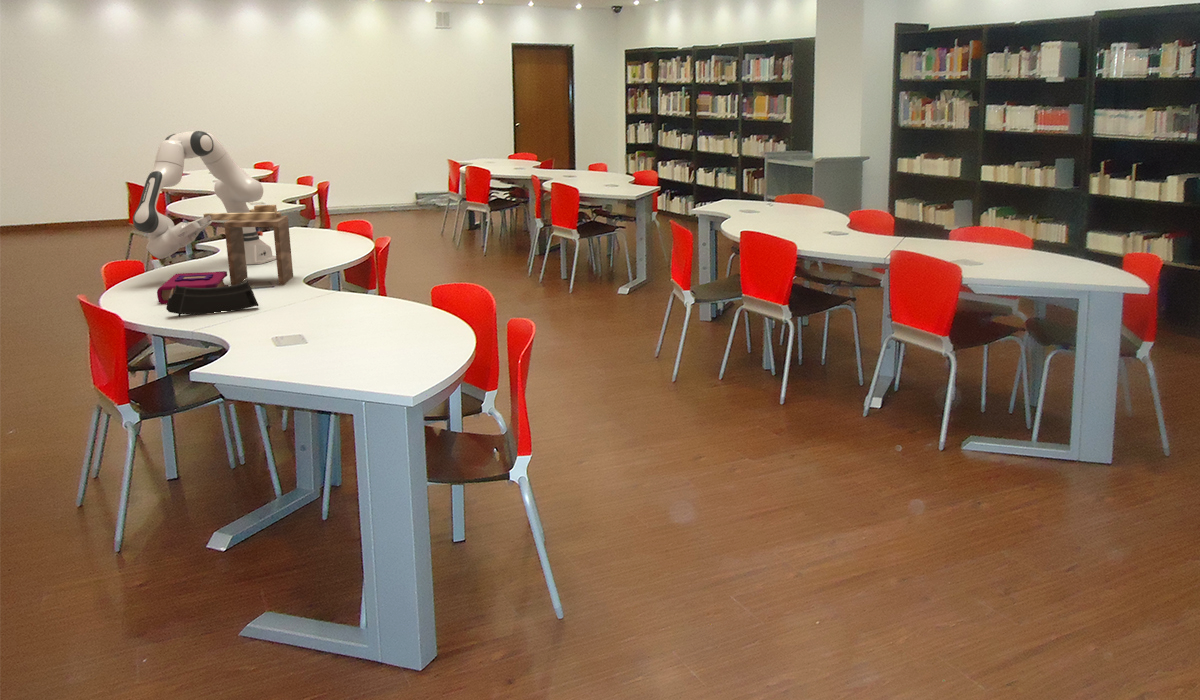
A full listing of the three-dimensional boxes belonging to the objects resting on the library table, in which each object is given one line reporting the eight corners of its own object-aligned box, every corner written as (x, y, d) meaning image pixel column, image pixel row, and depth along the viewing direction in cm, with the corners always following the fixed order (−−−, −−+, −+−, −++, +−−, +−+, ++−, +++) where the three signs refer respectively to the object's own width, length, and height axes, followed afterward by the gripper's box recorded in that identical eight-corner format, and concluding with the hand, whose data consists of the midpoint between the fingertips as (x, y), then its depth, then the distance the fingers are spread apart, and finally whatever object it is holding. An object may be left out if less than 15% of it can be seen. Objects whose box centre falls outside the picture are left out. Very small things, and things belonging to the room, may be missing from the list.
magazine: (262, 282, 353) (174, 266, 338) (263, 284, 350) (175, 267, 336) (252, 327, 355) (165, 313, 340) (253, 329, 352) (165, 314, 338)
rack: (230, 286, 393) (222, 210, 385) (242, 277, 411) (235, 205, 403) (283, 285, 395) (276, 209, 387) (293, 276, 413) (286, 204, 405)
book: (158, 305, 361) (156, 285, 359) (174, 290, 387) (172, 271, 385) (217, 302, 365) (215, 282, 363) (229, 288, 391) (227, 269, 389)
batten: (204, 220, 393) (203, 214, 392) (206, 219, 395) (205, 213, 395) (274, 219, 395) (274, 213, 395) (276, 218, 398) (275, 212, 397)
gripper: (171, 230, 384) (200, 212, 383) (187, 223, 403) (215, 206, 403) (181, 243, 385) (210, 225, 385) (196, 236, 405) (224, 219, 404)
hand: (212, 215), depth 394 cm, fingers open, 5 cm apart
